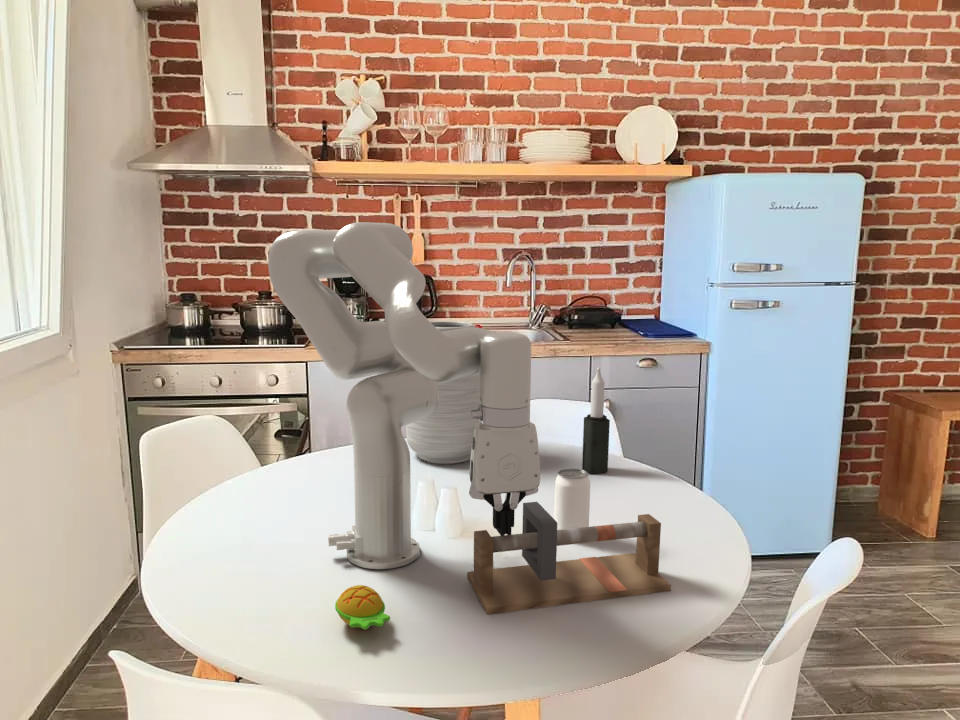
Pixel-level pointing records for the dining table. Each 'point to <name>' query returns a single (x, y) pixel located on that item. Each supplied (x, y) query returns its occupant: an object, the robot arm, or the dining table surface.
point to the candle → (596, 432)
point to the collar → (540, 540)
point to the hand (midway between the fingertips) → (503, 531)
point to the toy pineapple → (361, 607)
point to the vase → (448, 417)
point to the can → (572, 499)
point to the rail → (568, 568)
